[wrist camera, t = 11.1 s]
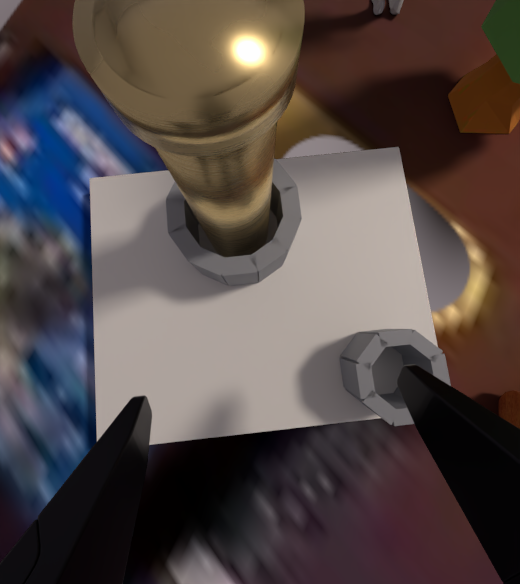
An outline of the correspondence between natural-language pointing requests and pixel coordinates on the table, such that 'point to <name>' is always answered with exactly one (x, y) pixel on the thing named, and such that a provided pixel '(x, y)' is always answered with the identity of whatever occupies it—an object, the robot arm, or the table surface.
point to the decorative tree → (493, 77)
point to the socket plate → (261, 303)
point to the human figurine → (395, 6)
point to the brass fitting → (201, 96)
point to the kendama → (510, 407)
